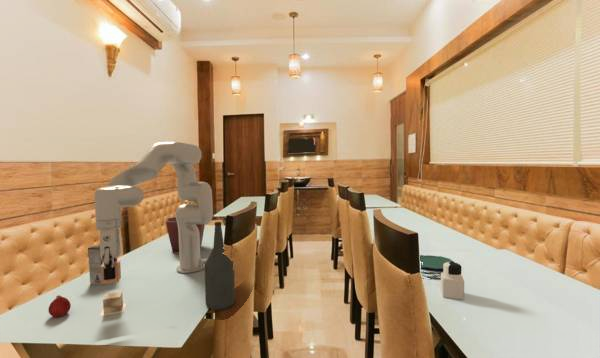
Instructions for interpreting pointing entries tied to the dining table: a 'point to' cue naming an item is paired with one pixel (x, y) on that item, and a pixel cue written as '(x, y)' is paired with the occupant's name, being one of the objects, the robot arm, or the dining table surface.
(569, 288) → the dining table surface
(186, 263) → the robot arm
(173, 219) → the bucket
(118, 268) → the terracotta block
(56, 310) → the onion
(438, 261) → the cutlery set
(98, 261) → the coffee box
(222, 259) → the bottle
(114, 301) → the pale oak block
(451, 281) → the medicine bottle
